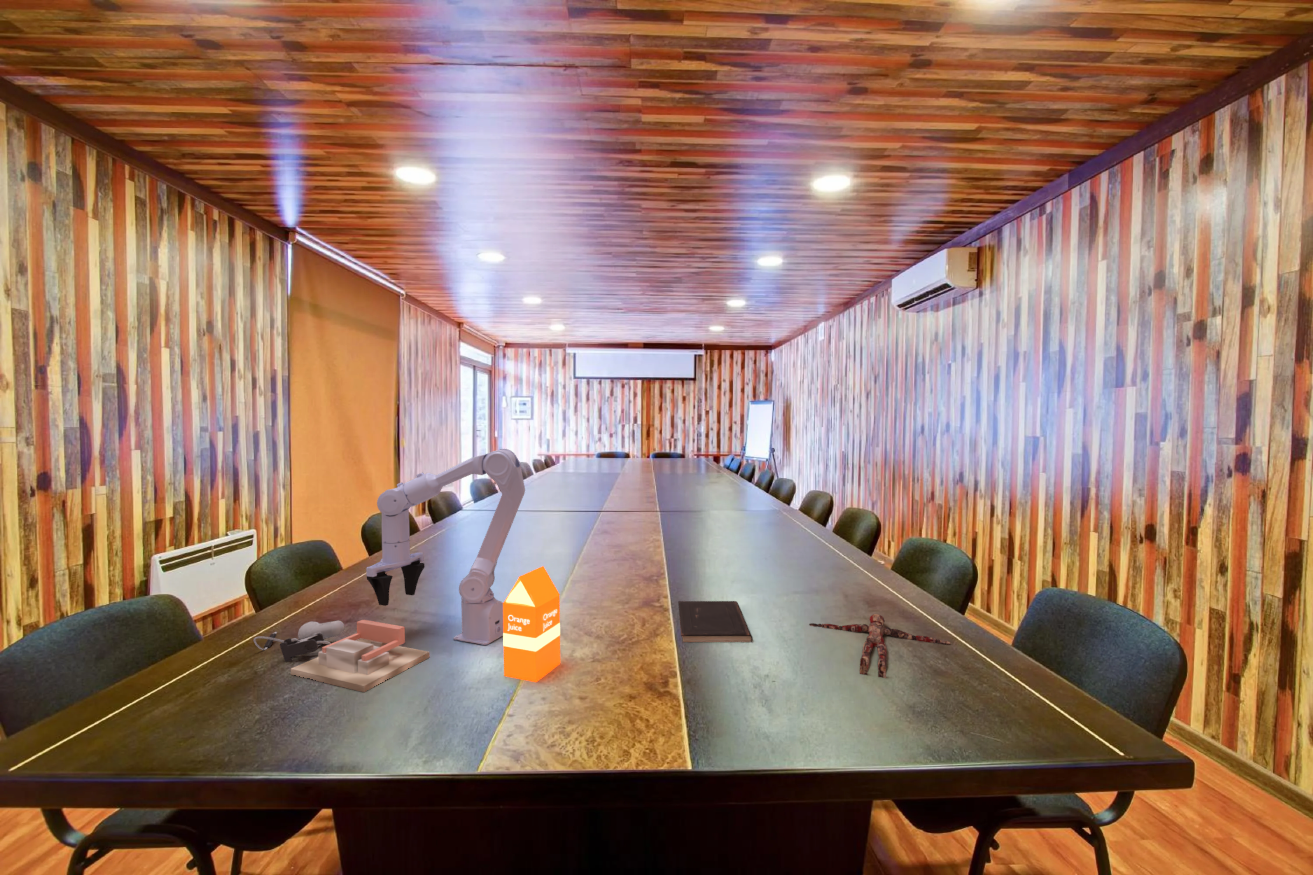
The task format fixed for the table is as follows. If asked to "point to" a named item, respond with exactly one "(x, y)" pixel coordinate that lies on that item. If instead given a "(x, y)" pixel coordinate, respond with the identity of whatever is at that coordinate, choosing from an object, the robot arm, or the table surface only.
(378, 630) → the u-shaped bracket
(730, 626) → the hardcover book
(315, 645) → the clip-on lamp
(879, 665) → the mannequin
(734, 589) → the table surface
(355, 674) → the architectural building model
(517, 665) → the orange juice
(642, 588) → the table surface
